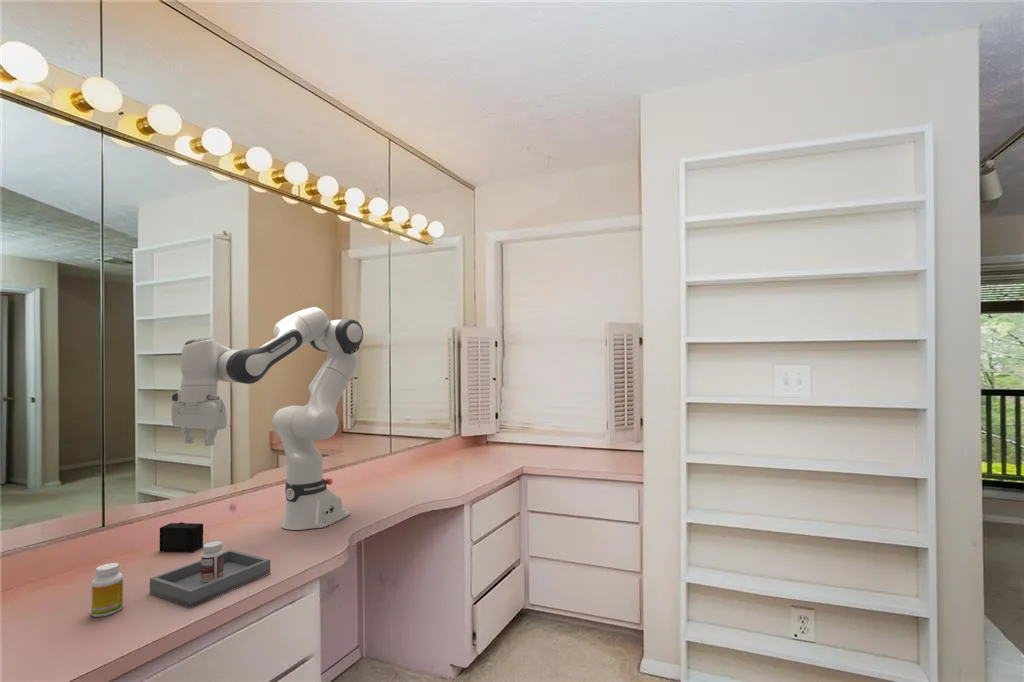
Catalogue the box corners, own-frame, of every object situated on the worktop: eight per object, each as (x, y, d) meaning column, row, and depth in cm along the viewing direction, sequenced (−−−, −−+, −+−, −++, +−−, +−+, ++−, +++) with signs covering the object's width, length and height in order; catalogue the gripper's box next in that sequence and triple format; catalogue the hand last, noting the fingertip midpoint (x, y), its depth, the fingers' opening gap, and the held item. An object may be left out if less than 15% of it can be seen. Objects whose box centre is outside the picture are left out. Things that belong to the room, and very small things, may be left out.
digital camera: (206, 545, 151) (206, 521, 151) (193, 552, 145) (193, 527, 146) (173, 545, 152) (173, 521, 152) (159, 552, 146) (159, 527, 146)
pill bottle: (219, 573, 128) (219, 539, 129) (226, 578, 125) (226, 543, 125) (197, 579, 125) (198, 544, 125) (205, 584, 121) (205, 548, 122)
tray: (230, 562, 137) (230, 549, 137) (270, 573, 130) (270, 559, 130) (149, 593, 120) (149, 578, 120) (190, 607, 112) (190, 591, 112)
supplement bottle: (125, 610, 111) (125, 565, 112) (93, 620, 107) (94, 573, 108) (119, 603, 115) (120, 559, 115) (88, 612, 111) (89, 566, 111)
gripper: (233, 395, 142) (233, 445, 141) (189, 393, 151) (189, 440, 151) (210, 396, 136) (210, 448, 136) (166, 395, 146) (166, 444, 145)
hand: (198, 444), depth 143 cm, fingers open, 8 cm apart
